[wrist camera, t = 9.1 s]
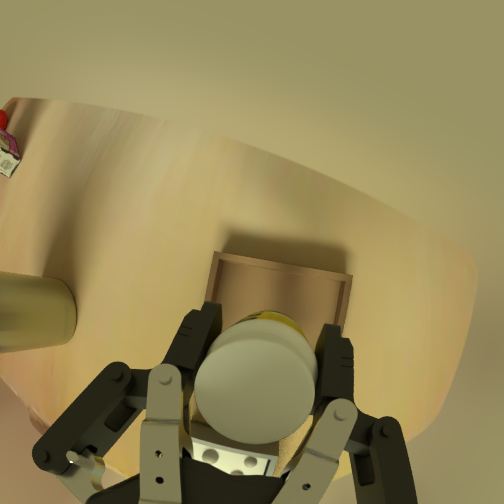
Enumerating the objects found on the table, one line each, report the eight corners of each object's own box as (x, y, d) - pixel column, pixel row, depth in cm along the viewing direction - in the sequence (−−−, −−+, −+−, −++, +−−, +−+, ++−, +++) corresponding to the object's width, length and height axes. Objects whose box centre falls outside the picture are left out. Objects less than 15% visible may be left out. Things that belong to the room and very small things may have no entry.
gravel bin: (184, 467, 24) (175, 482, 21) (191, 420, 25) (180, 433, 22) (264, 486, 23) (261, 503, 20) (279, 440, 24) (278, 456, 21)
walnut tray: (199, 366, 26) (191, 373, 24) (220, 254, 28) (214, 251, 25) (322, 390, 25) (325, 399, 22) (346, 277, 26) (352, 275, 24)
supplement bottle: (260, 294, 17) (239, 294, 8) (321, 339, 16) (358, 378, 7) (214, 353, 16) (158, 399, 8) (273, 396, 15) (266, 473, 7)
